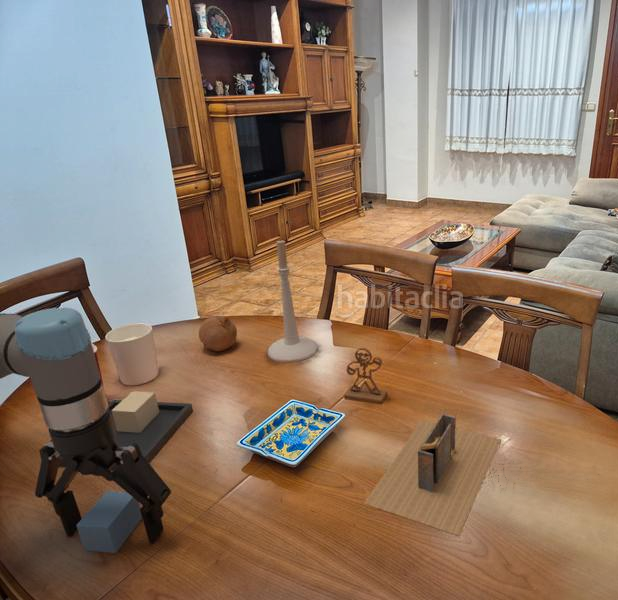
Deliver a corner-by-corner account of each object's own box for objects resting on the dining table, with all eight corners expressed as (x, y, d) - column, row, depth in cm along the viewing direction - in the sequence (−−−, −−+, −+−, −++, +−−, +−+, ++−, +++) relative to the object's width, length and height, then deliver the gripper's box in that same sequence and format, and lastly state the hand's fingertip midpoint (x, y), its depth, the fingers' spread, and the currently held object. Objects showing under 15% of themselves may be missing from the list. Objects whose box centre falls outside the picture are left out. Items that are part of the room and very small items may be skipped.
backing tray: (50, 465, 94) (47, 457, 93) (115, 406, 112) (113, 399, 111) (141, 471, 92) (139, 463, 91) (193, 410, 109) (191, 403, 109)
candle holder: (150, 387, 119) (139, 341, 114) (109, 387, 119) (96, 341, 114) (169, 366, 128) (159, 322, 123) (130, 366, 128) (119, 323, 123)
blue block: (84, 550, 76) (75, 525, 74) (114, 514, 83) (106, 490, 81) (115, 553, 76) (107, 527, 74) (143, 517, 82) (136, 492, 80)
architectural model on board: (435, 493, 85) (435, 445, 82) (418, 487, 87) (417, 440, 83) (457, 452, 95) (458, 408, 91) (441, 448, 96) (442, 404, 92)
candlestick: (271, 341, 139) (256, 234, 128) (318, 337, 141) (308, 231, 129) (264, 364, 128) (248, 248, 116) (316, 360, 129) (305, 245, 117)
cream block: (117, 431, 102) (111, 410, 100) (137, 411, 109) (132, 391, 107) (140, 432, 102) (134, 411, 100) (159, 412, 108) (154, 392, 106)
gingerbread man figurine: (343, 398, 113) (340, 350, 108) (350, 389, 116) (347, 341, 111) (382, 404, 110) (379, 354, 106) (387, 394, 114) (385, 346, 109)
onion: (236, 356, 138) (248, 327, 134) (204, 361, 131) (215, 330, 127) (220, 335, 143) (231, 306, 139) (188, 338, 136) (198, 307, 132)
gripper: (177, 405, 73) (203, 519, 81) (19, 398, 76) (59, 508, 84) (147, 438, 66) (178, 559, 74) (-25, 429, 69) (23, 546, 77)
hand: (115, 532), depth 79 cm, fingers open, 13 cm apart
